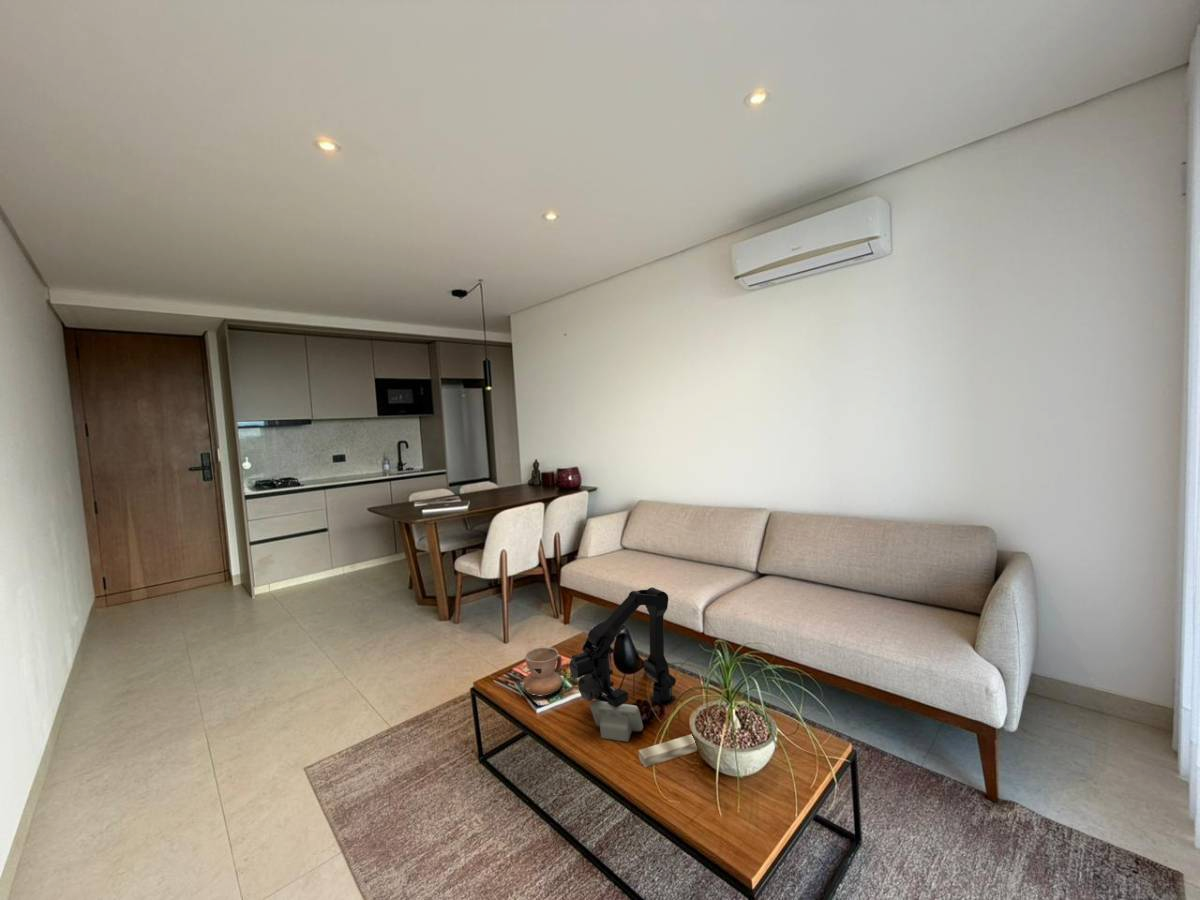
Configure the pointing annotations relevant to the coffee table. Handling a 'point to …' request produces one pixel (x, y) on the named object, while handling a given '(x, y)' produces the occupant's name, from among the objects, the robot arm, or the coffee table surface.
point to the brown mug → (542, 671)
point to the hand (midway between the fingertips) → (604, 714)
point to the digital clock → (616, 720)
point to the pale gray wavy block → (667, 750)
